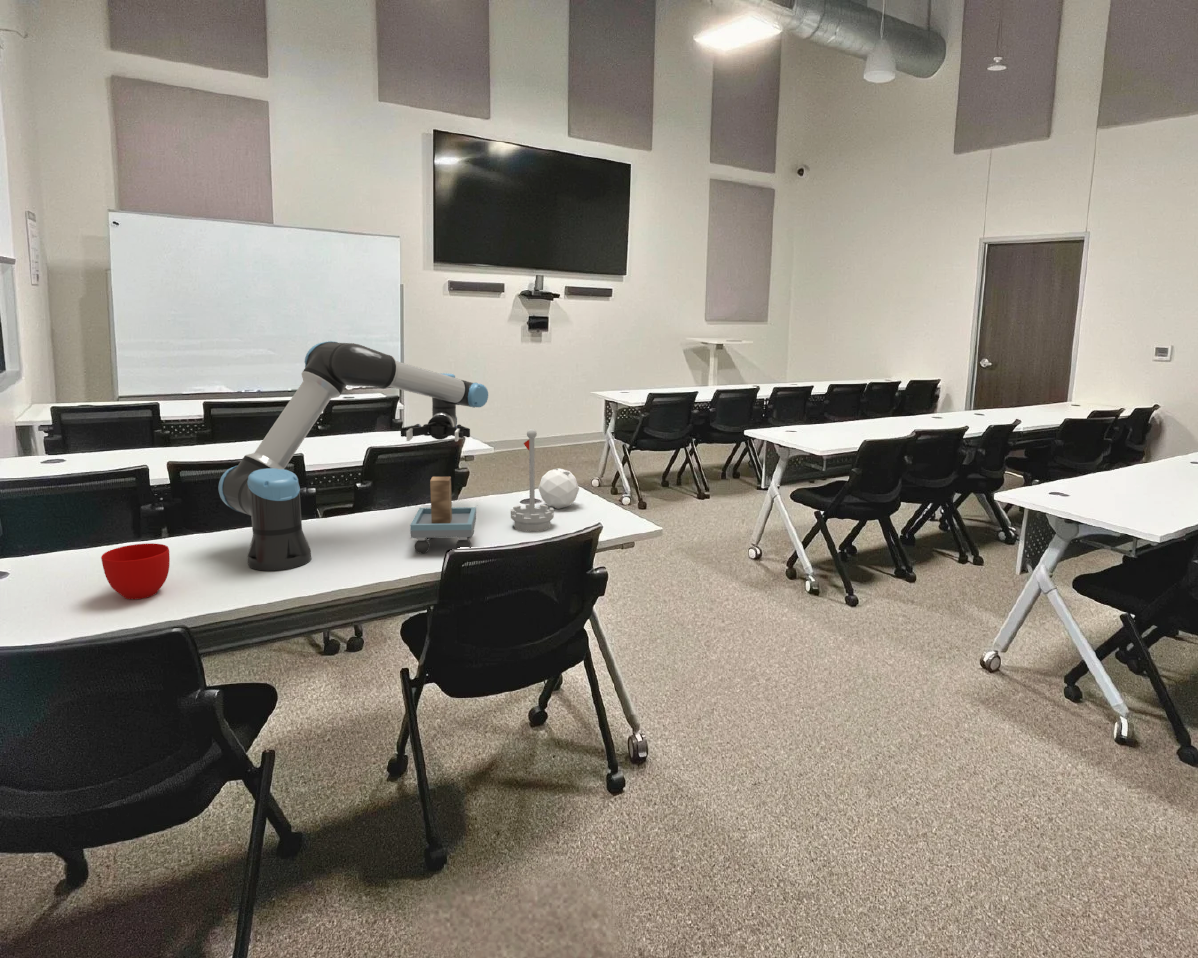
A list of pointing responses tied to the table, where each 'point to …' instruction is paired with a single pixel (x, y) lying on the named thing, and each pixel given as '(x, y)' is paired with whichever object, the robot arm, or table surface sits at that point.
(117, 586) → the red bowl
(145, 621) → the table surface
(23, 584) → the table surface
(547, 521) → the flag stand
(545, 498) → the geodesic sphere
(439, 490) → the walnut block
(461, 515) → the wheeled cart
